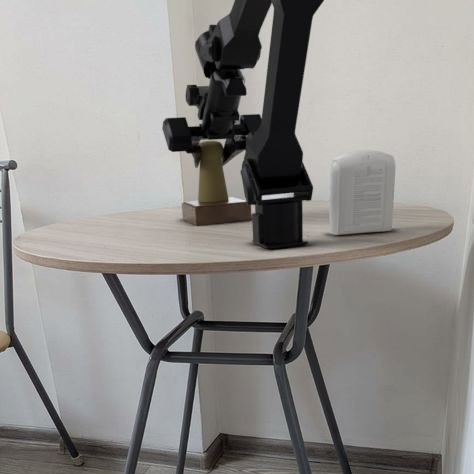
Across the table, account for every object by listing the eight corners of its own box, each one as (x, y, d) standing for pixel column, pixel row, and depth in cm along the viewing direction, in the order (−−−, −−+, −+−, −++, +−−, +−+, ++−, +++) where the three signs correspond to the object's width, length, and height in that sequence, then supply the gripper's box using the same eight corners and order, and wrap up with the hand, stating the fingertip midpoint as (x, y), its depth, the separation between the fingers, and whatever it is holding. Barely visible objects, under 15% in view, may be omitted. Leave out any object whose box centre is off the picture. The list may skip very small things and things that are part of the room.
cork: (192, 201, 115) (187, 142, 111) (218, 198, 118) (215, 140, 114) (207, 202, 110) (203, 141, 107) (234, 199, 113) (231, 139, 109)
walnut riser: (234, 214, 120) (233, 196, 119) (251, 220, 111) (250, 201, 110) (182, 219, 117) (181, 201, 116) (196, 225, 108) (194, 206, 107)
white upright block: (384, 227, 96) (387, 148, 92) (396, 231, 92) (400, 149, 88) (325, 233, 94) (325, 152, 90) (335, 237, 90) (336, 153, 86)
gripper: (260, 66, 105) (242, 132, 119) (159, 67, 100) (152, 137, 113) (278, 110, 101) (258, 174, 115) (174, 115, 96) (165, 181, 109)
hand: (208, 165), depth 113 cm, fingers closed on cork, 5 cm apart
